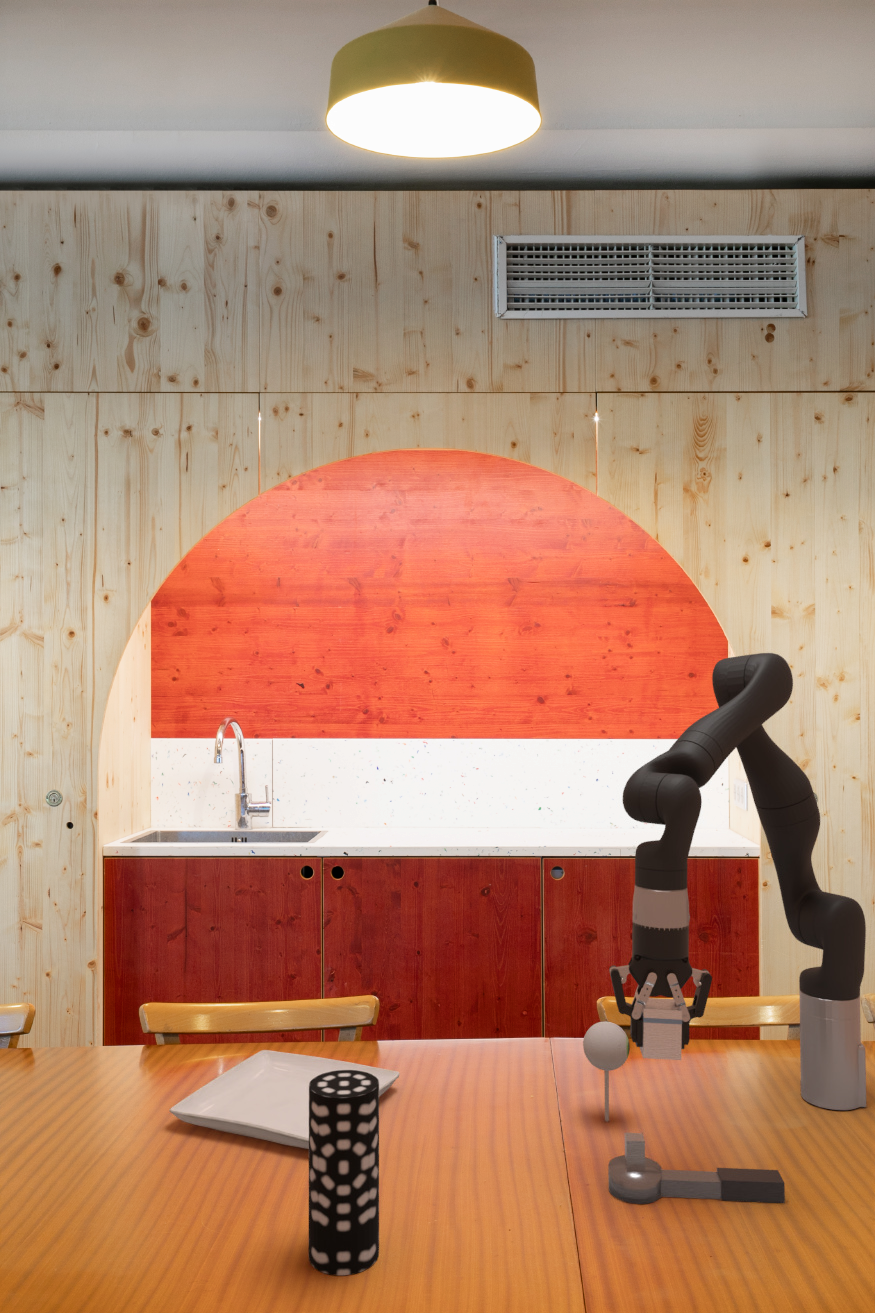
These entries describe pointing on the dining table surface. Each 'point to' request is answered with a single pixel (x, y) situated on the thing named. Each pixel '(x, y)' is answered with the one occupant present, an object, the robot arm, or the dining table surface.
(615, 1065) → the lollipop
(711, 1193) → the ratchet
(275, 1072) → the square plate
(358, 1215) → the spotted tube
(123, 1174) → the dining table surface
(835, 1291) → the dining table surface
